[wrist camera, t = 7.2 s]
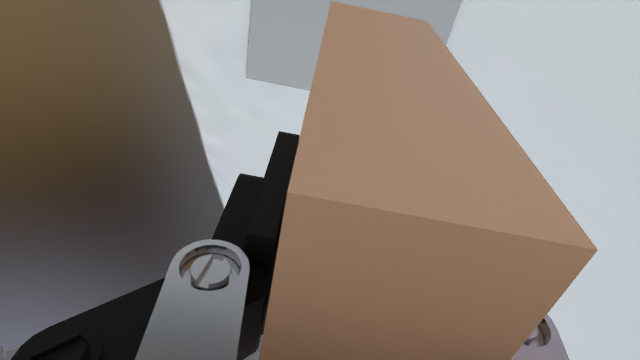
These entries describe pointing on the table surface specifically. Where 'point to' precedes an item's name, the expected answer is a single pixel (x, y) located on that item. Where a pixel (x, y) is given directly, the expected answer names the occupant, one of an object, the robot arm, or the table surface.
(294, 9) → the rubber mat
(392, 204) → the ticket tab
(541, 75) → the table surface
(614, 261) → the table surface
